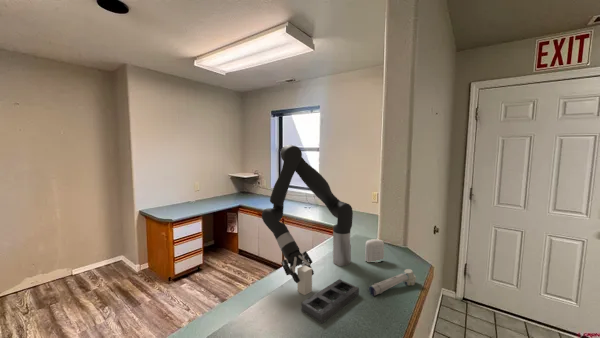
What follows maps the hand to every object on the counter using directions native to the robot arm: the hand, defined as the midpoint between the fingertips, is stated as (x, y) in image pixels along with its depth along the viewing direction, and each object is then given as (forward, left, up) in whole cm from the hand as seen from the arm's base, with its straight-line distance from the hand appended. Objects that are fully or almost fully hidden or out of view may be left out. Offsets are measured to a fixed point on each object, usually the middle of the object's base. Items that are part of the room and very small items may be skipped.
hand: (305, 278), depth 100 cm
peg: (0, -1, -6) cm, 6 cm away
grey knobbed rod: (-30, +25, -6) cm, 40 cm away
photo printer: (-48, +6, -6) cm, 49 cm away
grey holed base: (-2, +12, -6) cm, 14 cm away
